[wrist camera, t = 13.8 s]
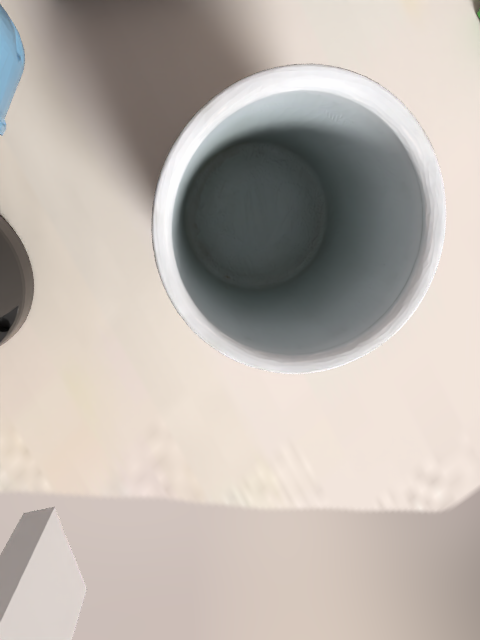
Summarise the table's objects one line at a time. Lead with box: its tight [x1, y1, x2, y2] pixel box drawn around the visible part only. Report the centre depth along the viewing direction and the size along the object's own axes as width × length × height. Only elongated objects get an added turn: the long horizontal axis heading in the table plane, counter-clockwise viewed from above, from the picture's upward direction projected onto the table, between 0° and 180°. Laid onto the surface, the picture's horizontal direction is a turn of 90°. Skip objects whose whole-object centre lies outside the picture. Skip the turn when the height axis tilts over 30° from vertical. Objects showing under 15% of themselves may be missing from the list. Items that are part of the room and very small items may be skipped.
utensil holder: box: [152, 64, 446, 374], centre depth 28 cm, size 15×15×18 cm
